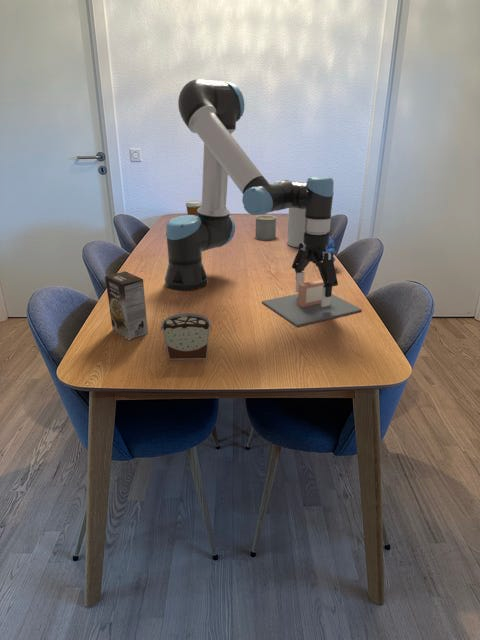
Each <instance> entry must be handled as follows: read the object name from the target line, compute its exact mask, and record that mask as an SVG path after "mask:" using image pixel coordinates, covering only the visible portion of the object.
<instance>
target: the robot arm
mask: <svg viewBox="0 0 480 640" xmlns="http://www.w3.org/2000/svg"><path fill="white" fill-rule="evenodd" d="M177 102H178V103H177V105H178V111H179V114H180V117H181V119H182V121H183V122H184V124H185V126H186V127H187V128H188V130H189V131H190V132H191V133H194V134H197V136H198V137H199V138H200V139H201V141H202V142H203V159H202V161H203V163H202V165H203V166H202V167H203V168H202V188H201V189H202V191H201V202H202V205H201V207H199V208H198V209H197V216H195V215H188V214H186V215H179V216H175V217H173V218H171V219H169V220H168V221H167V222H166V229H165V231H166V232H165V237H166V245H167V259H168V265H167V268H166V269H167V270H166V272H165V276H164V277H165V278H164V285H165V287H166V288H167V289H171V290H174V291H180V292H181V291H183V292H187V291H195V290H200V289H202V288H204V287H206V286H207V285H208V276H207V273H206V269H205V266H204V264H203V259H202V258H203V257H202V252H205V251H208V250H213V249H216V248H221V247H223V246H225V245H227V244H229V243H230V242H231V241H232V239H233V238H234V236H235V233H236V225H235V222H234V219H233V217H232V216H231V215H230V213H231V212H230V210H229V209H228V208H227V195H228V181H229V177H230V179H231V180H232V181H233V183H234V184H235V186H236V187H237V188H238V189H239V191H240V192H241V193H242V199H241V201H242V204H243V208H244V211H246V212H247V213H248V214H250V215H251V216H262V215H267V214H268V213H272V212H276V211H282V210H287V209H289V208H298V209H305V222H304V230H305V232H304V240H303V243H300V244H299V248H298V250H297V253H296V255H295V257H294V260H293V262H292V265H291V268H292V269H294V272H295V290H294V291H295V293H298V292H299V284H302V283H305V275H306V274H305V269H306V267H307V266H308V265H309V264H310V262H311V263H313V264H314V265H315V267H317V269H318V271H319V274H320V276H321V277H320V278H321V280H323V282H324V286H323V287H322V299H321V307H325V306H329V305H330V297H331V294H333V287H337V286H339V282H338V277H337V273H336V269H335V267H336V266H335V261H334V262H333V257H334V255H333V253H332V252H329V253H328V252H326V246H327V245H328V244H329V236H331V235H330V230H331V219H332V207H333V198H334V179H333V178H332V177H331V176H324V175H323V176H321V175H313V176H309V177H307V180H306V182H300V181H294V180H293V181H291V180H289V179H285V180H275V181H274V183H271V184H270V182H269V181H268V180H267V179H266V178H265V176H264V175H263V174H262V173H261V171H260V170H259V169H258V168H257V166H256V165H255V164H254V161H252V160H251V159H250V157H249V155H247V153H246V152H245V150H244V149H243V148H242V147H241V145H240V144H239V143H238V142H237V140H236V139H235V137H233V135H232V134H233V133H234V132H235V131H236V128H237V127H236V126H237V123H238V122H239V121H240V120H241V117H243V115H244V112H245V107H246V106H245V98H244V95H243V93H242V91H241V90H240V88H239V87H238V86H237V85H236V84H235V83H232V82H229V81H226V80H225V81H224V80H212V79H211V80H208V79H200V78H199V79H198V78H197V79H193V80H190V81H188V82H187V83H185V85H184V86H183V87H182V88H181V90H180V93H179V95H178V101H177Z"/></svg>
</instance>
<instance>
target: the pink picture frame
mask: <svg viewBox="0 0 480 640" xmlns="http://www.w3.org/2000/svg"><path fill="white" fill-rule="evenodd" d="M323 286H324V282H323V280H322V279H319V280H313V281H309V282H304V283H302V284H299V292H297V294H298V306H300V307H306V306H311V305H315V304H320V303H321V299H322V287H323Z"/></svg>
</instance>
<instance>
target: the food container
mask: <svg viewBox="0 0 480 640" xmlns="http://www.w3.org/2000/svg"><path fill="white" fill-rule="evenodd" d="M211 324H212V323H211V321H210V319H209V318H208V317H206V316H205V315H202V314H199V313H194V312H192V313H191V312H189V313H188V312H185V313H178V314H174V315H170V316H168V317H165V319H163V321H162V322H161V325H160V332H163V336H164V341H165V347H166V352H167V357H168V360H169V361H170V359H178V360H177V361H180V360H181V361H182V360H207V359H208V352H209V351H208V350H209V338H210V331H213V327H212V325H211ZM210 329H211V330H210ZM179 359H180V360H179Z"/></svg>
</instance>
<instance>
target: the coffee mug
mask: <svg viewBox="0 0 480 640" xmlns="http://www.w3.org/2000/svg"><path fill="white" fill-rule="evenodd" d="M276 233H277V217H276V216H273V215H267V214H263V215H256V216H255V239H257V240H262V241H272V240H275V239H276V235H277V234H276Z"/></svg>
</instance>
